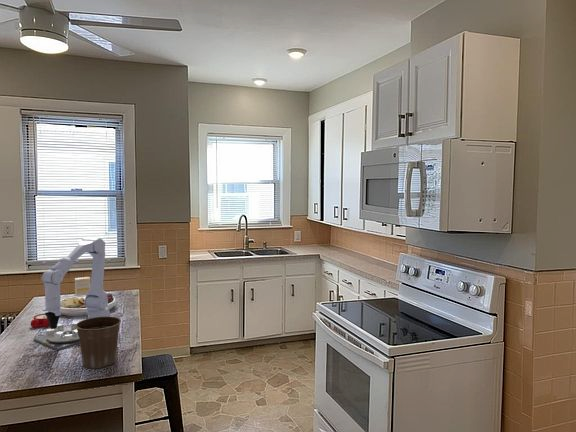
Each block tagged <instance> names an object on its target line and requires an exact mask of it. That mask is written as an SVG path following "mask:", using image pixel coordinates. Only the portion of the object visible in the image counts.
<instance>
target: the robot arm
mask: <svg viewBox="0 0 576 432" xmlns="http://www.w3.org/2000/svg"><path fill="white" fill-rule="evenodd" d="M85 253H87V254H89V255H90V256H91V257H92V263H91V264H92V267H91V277H90V290H89V291H88V292H87V293H86V298H85V300H84V304H85V306H86V307H87V309H88V316H87V317H88V318H87V319H89V318H94V317H111V311H110V310H109V309H108V308H107V305H108V299H107V294H108V293H107V292H106V291H105V290H104V277H105V276H104V274H105V265H106V264H105V263H106V242H105V241H104V240H103V239H102V238H99V237H96V238H95V237H94V238H93V237H87V236H86V237H85V236H84V237H82V238H81V240H79V241H78V243H77V246H76V247H75V248H74V249H73V250H72V251H71V252H70V254H69V255H68V256H67V257H62V258H59V260H58V262H56V264H54V265H53V266H52V267H51V268H50V269H47V270H45V271H44V272H43V274H42V276H41V277H40V278H41V282H42V283H43V286H44V295H45V296H44V301H45V302H44V303H45V305H44V306H45V307H44V308H42V310H41V311H42V312H45V313H44V314H45V315H46V317H47V319H48V322H49V326H50V327H49V329H56V328H57V324H59V323H58V322H59V320H60V317H61V316H62V314H61V306H60V300H61V283H62V282H63V280H64V277H65V275H66V274H67V273H68V271H70V270H71V269H72V268H73V266H74V262H76V261H77V260H78V259H79V258H80V257H82V255H84V254H85Z"/></svg>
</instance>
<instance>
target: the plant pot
mask: <svg viewBox="0 0 576 432" xmlns="http://www.w3.org/2000/svg"><path fill="white" fill-rule="evenodd" d="M77 322H78V323H77V324H76V328H77V331H78V336H79V339H80V344H79V345H80V346H79V347H80V353H81V361H82V366H83V367H85V368H87V369H91V368H93V369H94V370H95V369H97V370H98V369H102V368H105V367H106V366H112V365H113V364H115V363H116V362H117V356H118V354H117V353H118V343H119V332H120V326H121V323H122V319H120V318H119V317H116V316H110V317H94V318H89V319H88V318H86V319H83V320H81V321H77Z"/></svg>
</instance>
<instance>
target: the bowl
mask: <svg viewBox="0 0 576 432" xmlns="http://www.w3.org/2000/svg"><path fill="white" fill-rule="evenodd" d="M85 298H86V295H83V296H76V297H75V296H72V297H71V296H70V297H67V298H64V299H60V306H61V315H64V316H68V317H86V316H87V317H88V309H87V307H86V306H85V304H84V300H85ZM107 299H108V305H107V308H108V309H109V311H110V310H112V309H113V308H114V307H115V305H116V297H114V295H113V294H112V293H110V292H109V293H107Z"/></svg>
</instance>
